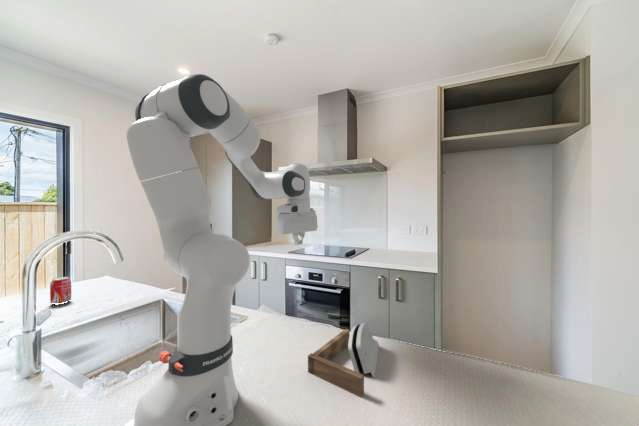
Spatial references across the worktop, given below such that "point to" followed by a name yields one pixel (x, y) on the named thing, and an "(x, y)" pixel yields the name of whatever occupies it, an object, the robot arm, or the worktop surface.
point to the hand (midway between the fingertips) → (298, 244)
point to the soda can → (60, 290)
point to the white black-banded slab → (363, 349)
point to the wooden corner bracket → (335, 366)
